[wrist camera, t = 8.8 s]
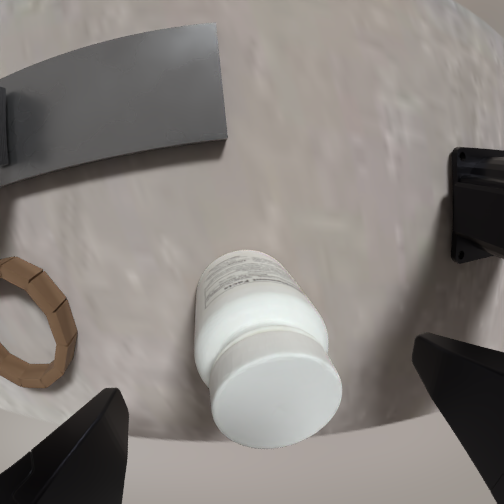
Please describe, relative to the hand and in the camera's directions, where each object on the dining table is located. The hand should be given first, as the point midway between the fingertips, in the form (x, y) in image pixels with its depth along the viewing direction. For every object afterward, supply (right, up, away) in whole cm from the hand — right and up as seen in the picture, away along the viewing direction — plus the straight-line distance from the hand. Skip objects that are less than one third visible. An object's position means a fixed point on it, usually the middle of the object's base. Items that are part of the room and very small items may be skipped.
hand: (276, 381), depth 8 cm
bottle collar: (-13, 0, +5) cm, 14 cm away
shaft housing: (-14, +9, +2) cm, 17 cm away
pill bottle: (-1, +2, +7) cm, 7 cm away
